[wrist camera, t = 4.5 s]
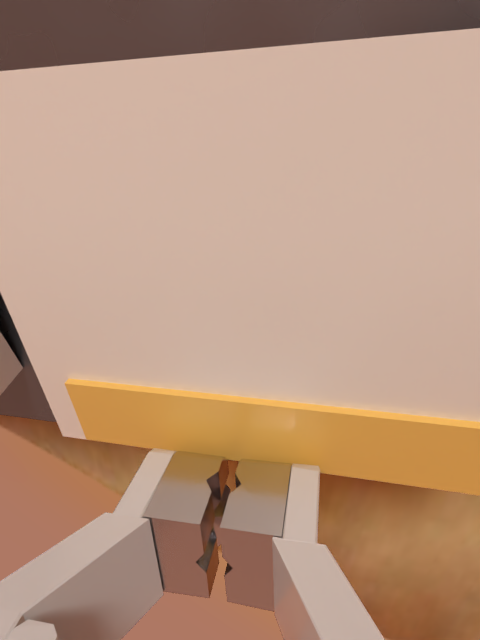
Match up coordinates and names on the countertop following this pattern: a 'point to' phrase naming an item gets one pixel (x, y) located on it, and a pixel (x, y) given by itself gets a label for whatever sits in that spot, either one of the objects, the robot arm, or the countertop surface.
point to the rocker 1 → (7, 364)
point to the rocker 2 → (255, 252)
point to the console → (180, 39)
